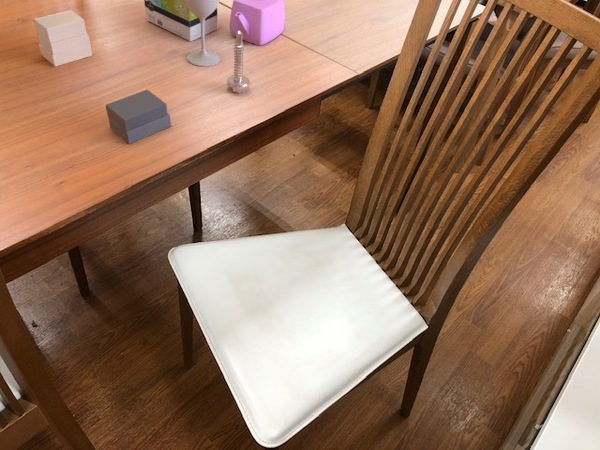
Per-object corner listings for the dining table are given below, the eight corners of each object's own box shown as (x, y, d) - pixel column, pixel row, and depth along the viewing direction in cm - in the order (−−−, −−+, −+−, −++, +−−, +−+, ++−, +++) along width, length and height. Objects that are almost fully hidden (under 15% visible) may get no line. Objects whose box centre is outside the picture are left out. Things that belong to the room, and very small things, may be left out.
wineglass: (186, 66, 111) (180, -35, 96) (186, 50, 116) (180, -49, 101) (221, 67, 112) (220, -33, 97) (219, 50, 118) (218, -47, 103)
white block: (50, 43, 102) (46, 28, 100) (37, 32, 105) (33, 18, 103) (86, 33, 107) (84, 19, 105) (73, 23, 109) (70, 9, 107)
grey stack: (129, 144, 91) (124, 120, 87) (110, 127, 93) (105, 104, 90) (171, 126, 95) (168, 103, 92) (152, 111, 98) (149, 88, 95)
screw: (231, 81, 109) (252, 86, 108) (223, 93, 105) (245, 98, 105) (231, 22, 99) (254, 27, 99) (222, 32, 96) (247, 38, 95)
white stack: (55, 66, 106) (49, 44, 102) (41, 55, 108) (35, 32, 105) (92, 55, 110) (88, 33, 107) (78, 44, 113) (73, 22, 109)
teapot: (254, 54, 118) (255, 10, 111) (217, 39, 121) (216, -4, 114) (292, 28, 130) (296, -13, 122) (258, 15, 133) (260, -25, 125)
